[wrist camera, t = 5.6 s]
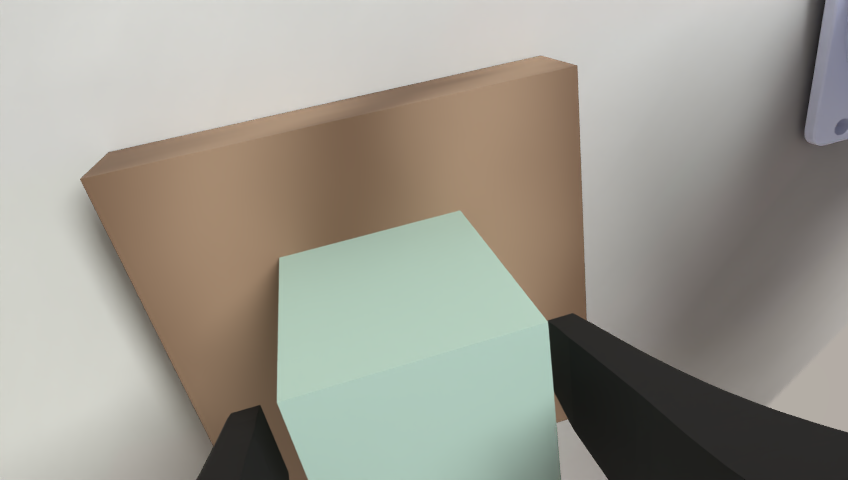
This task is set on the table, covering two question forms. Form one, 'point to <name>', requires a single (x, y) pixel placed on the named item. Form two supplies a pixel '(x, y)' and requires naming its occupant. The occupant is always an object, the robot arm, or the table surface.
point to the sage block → (414, 360)
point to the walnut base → (340, 211)
